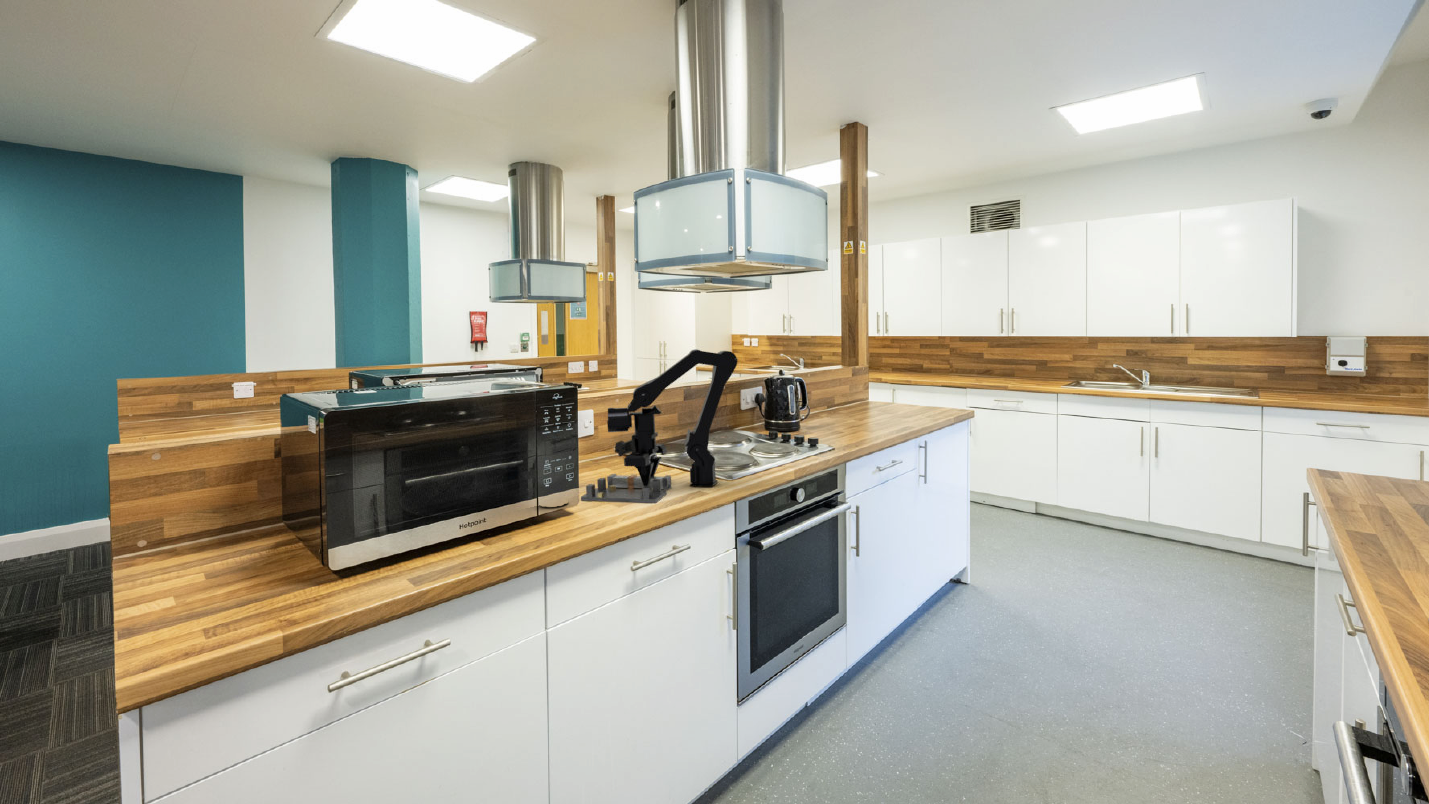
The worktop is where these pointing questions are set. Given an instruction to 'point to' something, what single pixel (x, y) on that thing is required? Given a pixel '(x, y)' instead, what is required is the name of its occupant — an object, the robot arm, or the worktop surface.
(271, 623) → the worktop surface
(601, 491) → the cradle
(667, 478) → the tube
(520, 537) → the worktop surface
